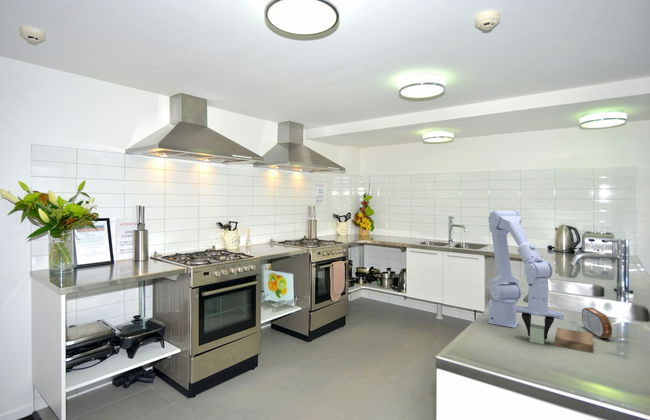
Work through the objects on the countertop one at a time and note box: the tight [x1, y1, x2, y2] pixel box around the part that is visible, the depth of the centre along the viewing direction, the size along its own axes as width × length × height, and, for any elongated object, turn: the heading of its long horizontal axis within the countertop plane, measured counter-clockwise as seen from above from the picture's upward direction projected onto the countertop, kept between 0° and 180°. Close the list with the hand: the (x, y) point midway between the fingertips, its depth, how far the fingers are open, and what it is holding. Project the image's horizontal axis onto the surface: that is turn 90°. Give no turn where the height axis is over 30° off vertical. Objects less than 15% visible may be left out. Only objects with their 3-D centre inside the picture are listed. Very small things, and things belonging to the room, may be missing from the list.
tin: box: [581, 307, 613, 339], centre depth 127 cm, size 15×3×8 cm, turn 168°
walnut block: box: [554, 327, 594, 354], centre depth 118 cm, size 10×12×3 cm
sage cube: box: [529, 323, 546, 345], centre depth 120 cm, size 4×4×5 cm
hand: (537, 336), depth 120 cm, fingers closed on sage cube, 4 cm apart
